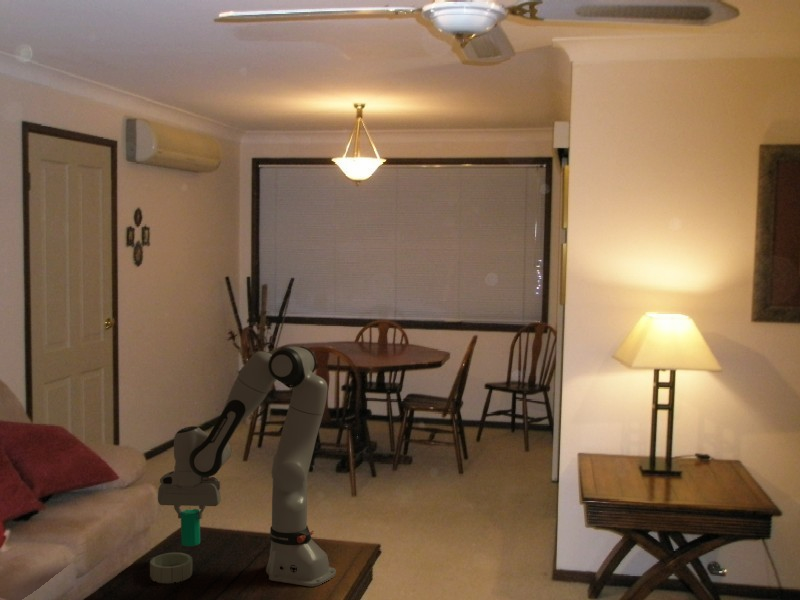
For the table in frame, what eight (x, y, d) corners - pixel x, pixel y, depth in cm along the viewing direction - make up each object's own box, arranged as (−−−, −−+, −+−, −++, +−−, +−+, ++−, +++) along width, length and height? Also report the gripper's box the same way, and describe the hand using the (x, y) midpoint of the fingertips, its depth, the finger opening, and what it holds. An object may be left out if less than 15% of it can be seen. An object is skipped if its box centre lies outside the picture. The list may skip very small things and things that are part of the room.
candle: (204, 541, 279) (203, 505, 278) (193, 547, 273) (192, 510, 272) (188, 538, 281) (187, 503, 280) (177, 545, 275) (176, 508, 275)
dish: (200, 572, 268) (200, 557, 267) (172, 586, 257) (172, 571, 257) (170, 564, 274) (170, 549, 273) (142, 577, 263) (141, 562, 262)
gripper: (222, 474, 277) (224, 515, 278) (162, 473, 279) (164, 514, 281) (216, 480, 271) (218, 522, 272) (155, 478, 273) (156, 520, 274)
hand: (190, 518), depth 276 cm, fingers closed on candle, 5 cm apart
